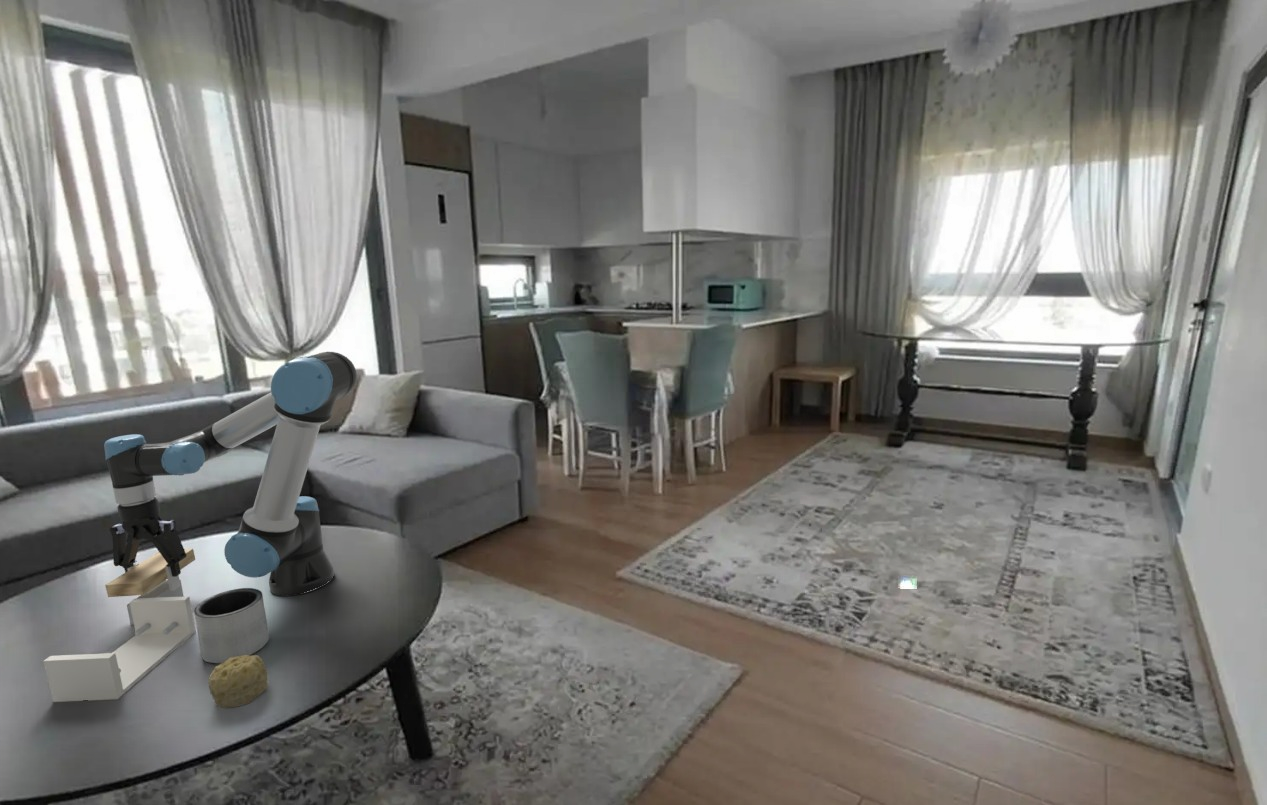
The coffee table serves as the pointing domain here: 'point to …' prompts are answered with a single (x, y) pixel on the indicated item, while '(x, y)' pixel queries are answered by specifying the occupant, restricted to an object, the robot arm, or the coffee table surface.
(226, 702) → the decorative item
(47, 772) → the coffee table surface
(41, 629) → the coffee table surface
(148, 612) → the shelf bay
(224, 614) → the planter
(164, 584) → the block
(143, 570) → the board
